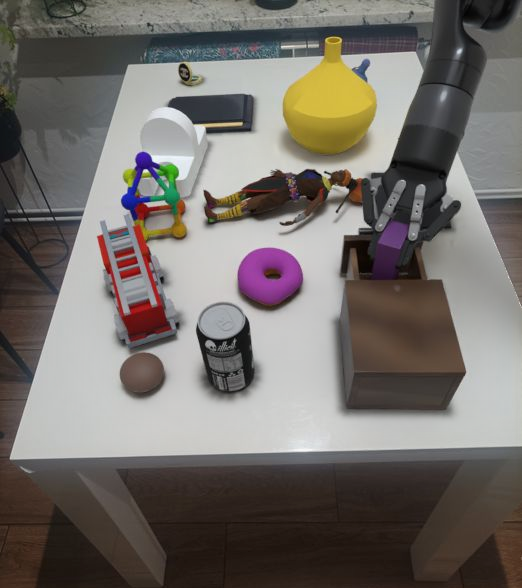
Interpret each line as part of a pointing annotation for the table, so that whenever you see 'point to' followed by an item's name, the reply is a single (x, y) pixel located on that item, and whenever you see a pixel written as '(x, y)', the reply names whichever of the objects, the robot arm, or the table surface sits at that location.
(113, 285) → the toy fire truck
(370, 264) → the drawer
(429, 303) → the cabinet
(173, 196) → the model
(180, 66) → the eyeshadow
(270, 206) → the figurine
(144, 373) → the egg
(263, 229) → the table surface
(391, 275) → the purple rectangular block
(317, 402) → the table surface
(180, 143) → the bracket
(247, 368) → the beverage can
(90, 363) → the table surface
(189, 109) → the wallet
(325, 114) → the vase
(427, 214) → the mat
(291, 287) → the donut
